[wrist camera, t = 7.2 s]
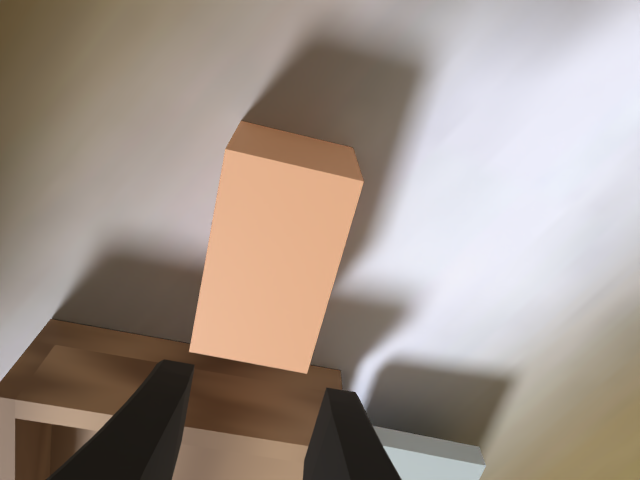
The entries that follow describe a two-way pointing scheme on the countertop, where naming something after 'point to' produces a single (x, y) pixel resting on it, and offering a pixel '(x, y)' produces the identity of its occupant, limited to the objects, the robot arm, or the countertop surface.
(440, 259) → the countertop surface
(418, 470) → the pale grey board
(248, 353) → the block
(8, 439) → the wooden tray
